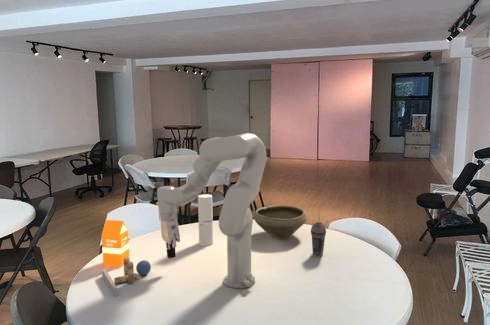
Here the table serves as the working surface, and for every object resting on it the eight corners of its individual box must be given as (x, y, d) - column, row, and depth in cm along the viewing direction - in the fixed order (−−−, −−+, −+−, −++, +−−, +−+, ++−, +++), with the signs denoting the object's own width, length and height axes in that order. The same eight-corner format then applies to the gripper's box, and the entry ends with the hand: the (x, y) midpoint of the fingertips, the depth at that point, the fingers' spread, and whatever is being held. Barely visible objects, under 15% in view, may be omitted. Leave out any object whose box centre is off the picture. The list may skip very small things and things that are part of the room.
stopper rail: (117, 295, 146) (117, 288, 146) (114, 296, 146) (114, 288, 145) (105, 275, 163) (105, 268, 163) (102, 276, 162) (102, 269, 162)
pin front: (136, 273, 159) (115, 278, 154) (137, 279, 159) (116, 285, 154) (135, 272, 161) (114, 277, 156) (135, 278, 161) (114, 283, 156)
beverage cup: (324, 251, 188) (325, 211, 185) (326, 257, 181) (327, 216, 178) (309, 251, 189) (310, 211, 186) (310, 257, 181) (311, 215, 178)
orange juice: (121, 267, 172) (118, 223, 168) (103, 265, 173) (100, 222, 170) (130, 260, 179) (127, 218, 176) (112, 258, 181) (110, 217, 178)
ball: (134, 271, 159) (148, 276, 160) (139, 257, 162) (153, 262, 163) (133, 273, 165) (147, 277, 166) (138, 259, 167) (152, 263, 168)
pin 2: (135, 283, 156) (134, 263, 155) (128, 285, 155) (127, 264, 153) (133, 281, 158) (132, 261, 157) (127, 282, 157) (125, 262, 155)
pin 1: (131, 278, 160) (130, 259, 159) (125, 280, 159) (124, 260, 158) (129, 276, 162) (128, 257, 161) (123, 277, 161) (122, 258, 160)
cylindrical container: (212, 246, 196) (211, 197, 192) (198, 245, 196) (197, 197, 193) (213, 241, 203) (212, 194, 199) (200, 241, 203) (199, 194, 200)
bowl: (313, 233, 215) (314, 208, 213) (292, 249, 192) (293, 222, 190) (269, 224, 230) (269, 201, 228) (244, 237, 207) (244, 212, 205)
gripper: (183, 217, 159) (186, 260, 162) (170, 210, 172) (173, 250, 174) (166, 221, 155) (169, 264, 158) (153, 213, 168) (157, 254, 171)
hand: (171, 257), depth 166 cm, fingers closed
